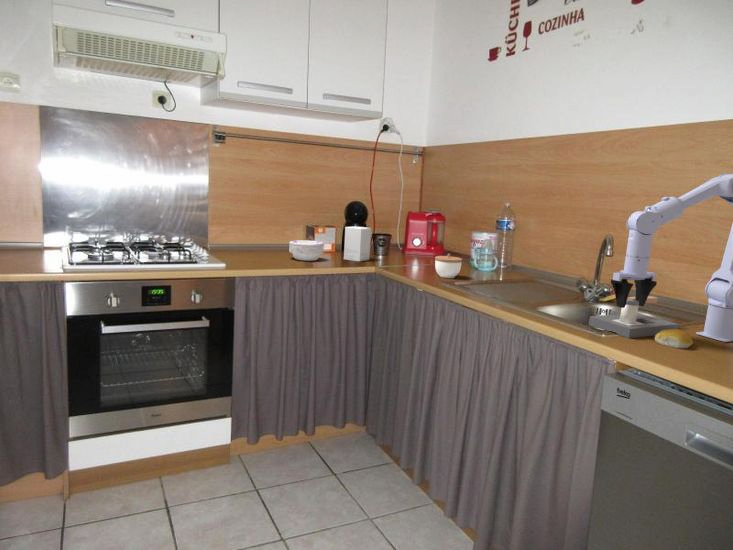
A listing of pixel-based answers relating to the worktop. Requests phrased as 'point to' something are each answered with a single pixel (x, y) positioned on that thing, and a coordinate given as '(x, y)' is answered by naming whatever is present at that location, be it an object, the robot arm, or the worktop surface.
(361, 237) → the supplement box
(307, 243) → the paper bowls
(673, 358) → the worktop surface
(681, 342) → the bread roll
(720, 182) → the robot arm
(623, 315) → the plug
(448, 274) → the lidded jar
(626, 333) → the socket panel
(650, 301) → the tan long bar
